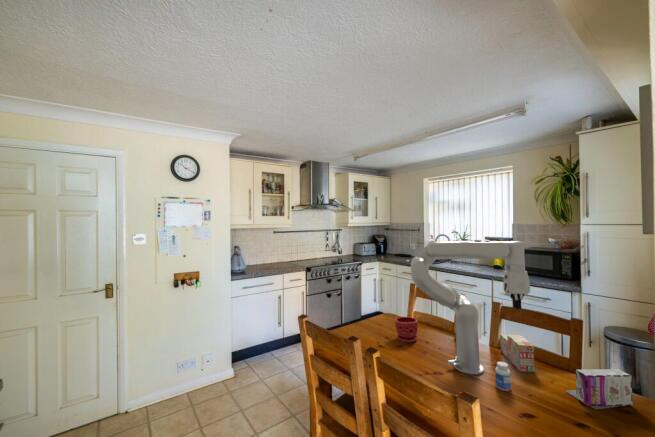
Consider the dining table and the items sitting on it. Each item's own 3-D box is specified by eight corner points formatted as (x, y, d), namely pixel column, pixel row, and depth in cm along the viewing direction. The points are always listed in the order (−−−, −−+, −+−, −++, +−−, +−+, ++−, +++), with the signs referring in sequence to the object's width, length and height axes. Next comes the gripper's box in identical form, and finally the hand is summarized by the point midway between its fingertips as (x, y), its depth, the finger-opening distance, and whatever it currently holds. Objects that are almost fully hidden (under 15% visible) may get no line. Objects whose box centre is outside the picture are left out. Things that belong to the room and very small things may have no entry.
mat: (595, 409, 100) (595, 408, 100) (565, 392, 111) (565, 390, 111) (628, 405, 102) (628, 404, 102) (595, 388, 113) (595, 387, 113)
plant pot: (420, 337, 169) (420, 317, 170) (414, 345, 158) (414, 324, 159) (399, 333, 176) (399, 314, 177) (392, 341, 165) (392, 320, 166)
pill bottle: (492, 384, 118) (491, 360, 118) (504, 383, 118) (503, 360, 118) (502, 391, 112) (500, 367, 113) (514, 391, 113) (513, 366, 113)
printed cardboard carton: (500, 351, 148) (499, 328, 149) (513, 352, 147) (512, 328, 148) (520, 371, 127) (518, 344, 128) (535, 372, 126) (534, 345, 127)
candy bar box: (575, 397, 106) (619, 398, 106) (586, 406, 101) (633, 406, 101) (574, 368, 107) (619, 368, 106) (586, 375, 102) (632, 375, 101)
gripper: (506, 269, 123) (508, 311, 123) (536, 268, 125) (538, 309, 124) (494, 267, 131) (496, 307, 130) (523, 266, 133) (524, 305, 132)
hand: (517, 308), depth 127 cm, fingers closed
